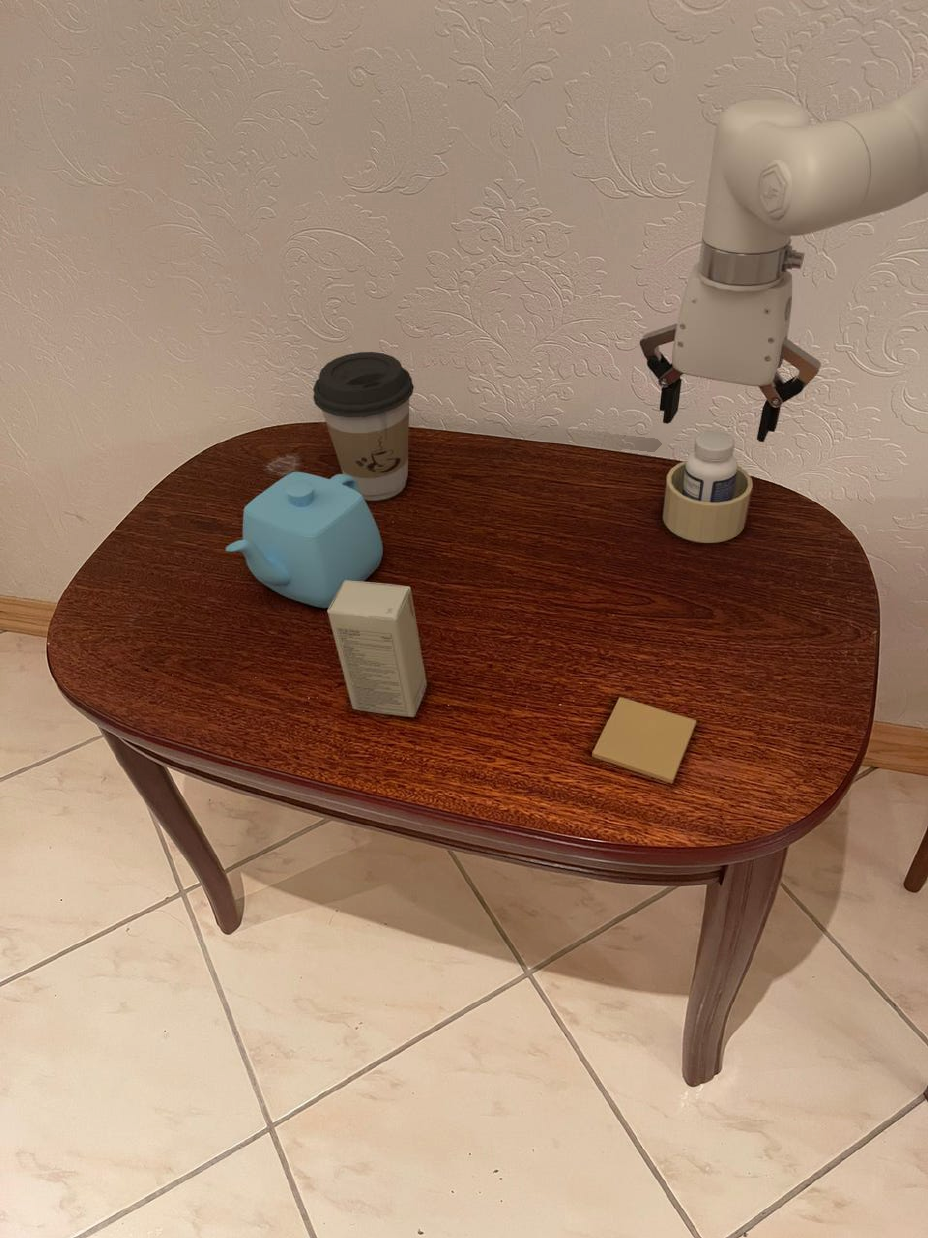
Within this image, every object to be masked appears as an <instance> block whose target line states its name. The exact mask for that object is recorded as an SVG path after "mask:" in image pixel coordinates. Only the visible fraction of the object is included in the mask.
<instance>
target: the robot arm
mask: <svg viewBox="0 0 928 1238" xmlns="http://www.w3.org/2000/svg"><path fill="white" fill-rule="evenodd" d="M711 156H712V157H711V162H710V163H711V164H710V171H709V178H708V179H709V180H708V187H707V196H706V203H705V211H704V219H703V227H702V235H701V243H700V251H699V259H698V262H697V263H695V264H694V265H693V266H692V269H691V271H690V274H689V277H688V280H687V283H686V286H685V289H684V293H683V296H682V301H681V304H680V308H679V314H678V318H677V322H676V323H674V324H671V325H668V326H665V327H662V328H659V329H656V330H653V331H651V332H647V333H645V334H644V335H642V337H641V338H640V340H639V346H640V349H641V351H642V354H643V356H644V358H645V359H646V366H647V368H648V369H649V370H650V371H651V372H652V374H653V375H654V377H656V379H657V380H658V381H657V384H658V386H660V387H661V392H660V402H659V411H661V412H663V416H662V423H663V424H666V425H668V424H670V423H671V422H672V421H673V419H674V418H675V416H676V415H677V413H678V411H679V405H680V397H681V388H682V381H683V379H682V378H681V377H682V376H683V375H686V376H692V377H697V378H701V379H702V378H703V379H706V380H712V381H719V382H725V383H730V384H736V385H737V384H738V385H741V386H749V387H758V389H759V390H760V392H761V393H762V394H763V396H764V397H765V399H766V400H765V402H764V404H763V406H762V410H761V415H760V420H759V423H758V430H757V435H756V441H757V442H759V443H764V442H765V441H766V438H767V436H768V434H769V432H771V433H775V431H776V430H777V426H778V423H779V417H780V414H781V410H782V409H781V407H782V406H783V404H784V403H786V402H788V401H789V400H790V399H793V398H794V397H796V396H798V395H799V394H801V393H802V392H803V390H804V389H805V387H806V386H808V385H809V384H810V382H812V380H813V379H815V377H816V376H817V375H818V373H819V371H820V369H821V367H822V363H821V362H820V360H819V359H817V358H815V356H813V355H811V354H810V353H808V352H807V351H805V350H804V349H803V348H801V347H800V346H798V345H797V344H795V343H794V342H793V341H791V340H789V339H788V337H789V331H790V323H791V314H792V302H793V274H792V273H791V272H790V271H788V270H793V269H798V270H801V269H802V266H803V264H804V260H805V254H806V253H805V252H802V251H801V252H800V251H797V249H793V245H791V244H792V238H791V237H798V236H805V235H810V234H813V233H816V232H820V231H824V230H828V229H830V228H833V227H837V226H840V225H842V224H846V223H849V222H852V221H855V220H860V219H862V218H865V217H870V216H874V215H877V214H880V213H885V212H887V211H891V210H893V209H896V208H898V207H901V206H903V205H905V204H907V203H909V202H911V201H913V200H915V199H917V198H919V197H921V196H922V195H924V194H926V193H928V78H926V79H925V80H924V81H922V82H921V83H919V84H917V85H916V86H915V87H913V88H912V89H911V90H909V91H908V92H906V93H905V94H903V95H902V96H901V97H899V98H897V99H895V100H894V101H891V103H889V104H887V105H885V106H883V107H880V108H876V109H872V110H867V111H862V112H858V113H854V114H850V115H846V116H843V117H838V118H833V119H829V120H825V121H822V122H817V123H812V120H811V116H810V114H809V112H808V110H807V109H806V108H805V107H804V106H802V105H800V104H799V103H796V102H793V101H789V100H786V99H785V100H784V99H776V98H775V99H774V98H758V99H757V98H755V99H749V100H748V99H747V100H743V101H739V102H737V103H734V104H731V105H730V106H729V107H727V108H726V109H724V111H723V112H722V113H721V114H720V116H719V118H718V121H717V124H716V127H715V132H714V140H713V148H712V155H711ZM671 342H673V343H672V353H671V363H670V362H669V360H668V359H667V358H666V356H665V355H664V354H663V353H662V352H661V351H660V347H659V346H663V345H665V344H666V345H667V344H668V343H671ZM784 361H785V362H787V363H789V364H790V365H791V366H793V367H794V368H796V369H797V370H798V371H799V372H798V373H797V374H796V375H795V376H793V377H791V378H789V379H788V380H787V381H785V379H784V378H783V376H782V375H781V373H780V372H779V371H778V369H780V368H781V367H782V364H783V362H784Z"/></svg>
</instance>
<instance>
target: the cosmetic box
mask: <svg viewBox="0 0 928 1238" xmlns="http://www.w3.org/2000/svg"><path fill="white" fill-rule="evenodd" d="M326 612H327V615H328V620H329V623H330V627H331V630H332V634H333V638H334V639H333V640H334V642H335V646H336V650H337V654H338V657H339V662H340V666H341V670H342V673H343V677H344V681H345V686H346V689H347V693H348V697H349V700H350V705H351V708H352V709H353V710H357V711H361V712H369V713H375V714H376V713H377V714H384V715H391V716H399V717H408V718H415V717H416V714H417V713H418V710H419V708H420V704H421V703H422V700H423V698H424V695H425V692H426V689H427V686H428V683H427V678H426V671H425V666H424V660H423V653H422V648H421V641H420V636H419V629H418V623H417V618H416V612H415V607H414V601H413V595H412V588H411V587H410V586H407V585H400V584H392V583H381V582H373V581H372V582H371V581H364V582H361V581H348V580H345V581H344V582H343V584H342V586H341V588H340V589H339V591H338V593H337V594H336V596H335V598H334V599H333V601H332V603H331V605H330V607H329V608H327V611H326Z"/></svg>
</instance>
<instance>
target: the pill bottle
mask: <svg viewBox="0 0 928 1238" xmlns="http://www.w3.org/2000/svg"><path fill="white" fill-rule="evenodd" d="M735 443H736V442H735V438H734V437H733V436H732V435H731V434H729V433H728V432H725V431H721V430H707V431H703V432H701V433H699V434H697V436H696V437H695V440H694V446H693V447H694V449H693V451H692V452H690V453H689V455H688V456H687V457H686V460H685V461H686V466H685V475H684V483H683V491H682V495H684V496H686V497H688V498H691V499H693V500H697V501H702V502H713V503H719V502H725V501H730V500H732V498H733V492H734V486H735V480H736V474H737V467H738V466H739V465H738V460H737V458H736V457H735V456H734V450H735Z"/></svg>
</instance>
